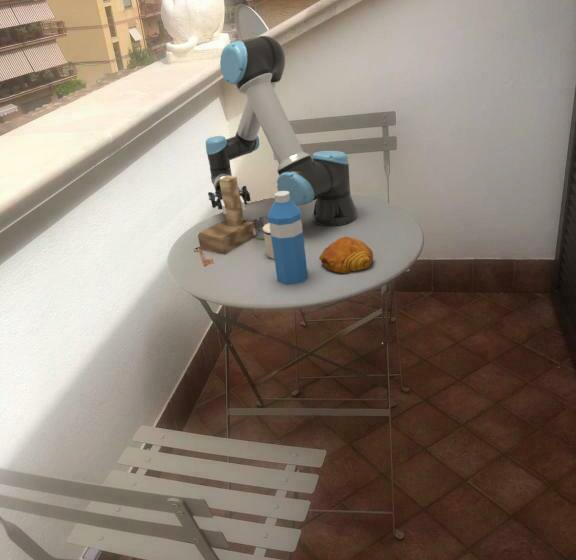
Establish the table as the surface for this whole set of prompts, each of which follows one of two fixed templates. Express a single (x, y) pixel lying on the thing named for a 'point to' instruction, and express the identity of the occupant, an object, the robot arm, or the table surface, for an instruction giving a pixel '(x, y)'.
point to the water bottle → (287, 239)
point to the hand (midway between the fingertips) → (234, 207)
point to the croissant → (347, 255)
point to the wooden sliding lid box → (225, 236)
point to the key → (203, 257)
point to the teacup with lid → (268, 241)
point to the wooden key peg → (231, 200)
